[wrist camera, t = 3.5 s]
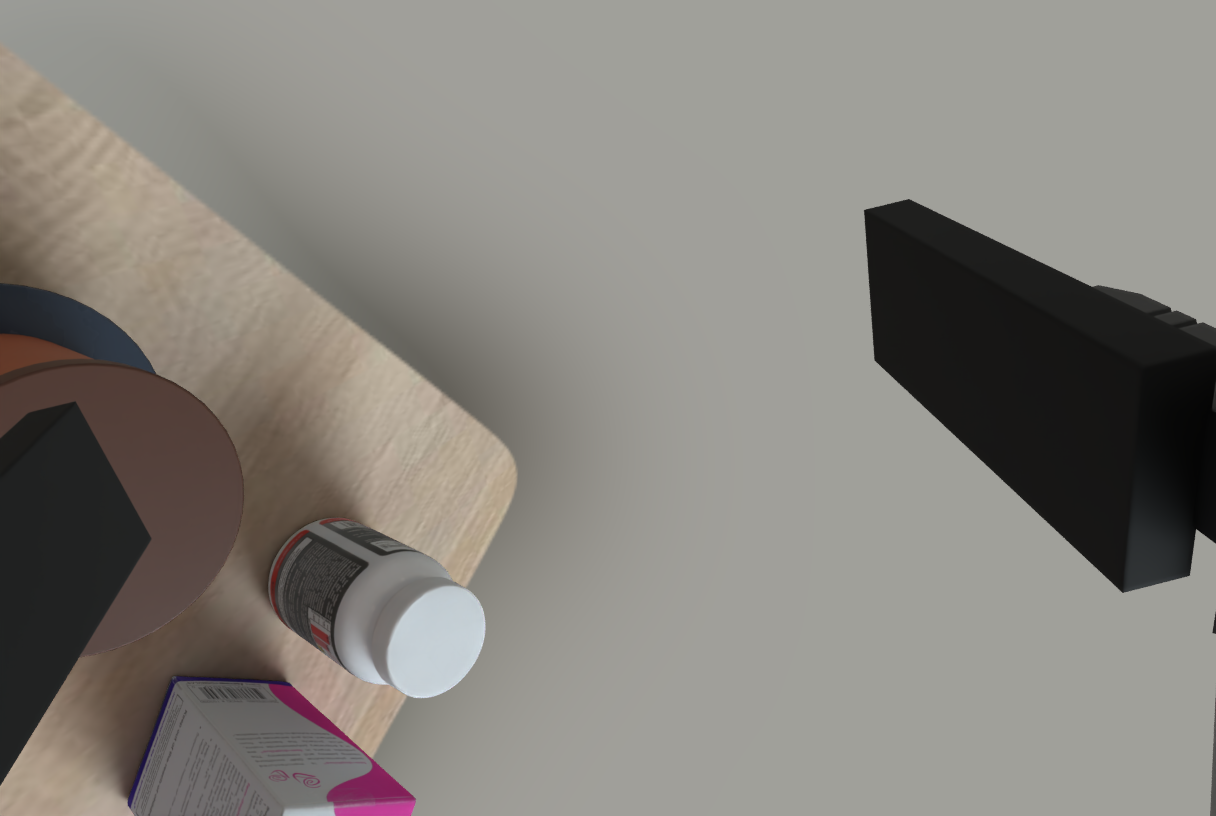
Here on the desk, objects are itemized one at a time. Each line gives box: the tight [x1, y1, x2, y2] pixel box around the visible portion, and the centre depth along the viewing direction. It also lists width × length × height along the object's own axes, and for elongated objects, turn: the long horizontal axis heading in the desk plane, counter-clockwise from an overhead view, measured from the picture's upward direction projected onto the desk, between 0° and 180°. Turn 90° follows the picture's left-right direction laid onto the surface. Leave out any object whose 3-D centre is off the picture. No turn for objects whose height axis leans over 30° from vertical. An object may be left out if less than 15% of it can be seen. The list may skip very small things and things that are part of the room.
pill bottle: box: [268, 517, 485, 698], centre depth 38 cm, size 6×6×10 cm
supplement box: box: [128, 676, 416, 816], centre depth 34 cm, size 6×6×12 cm
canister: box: [0, 334, 244, 657], centre depth 23 cm, size 7×7×10 cm
